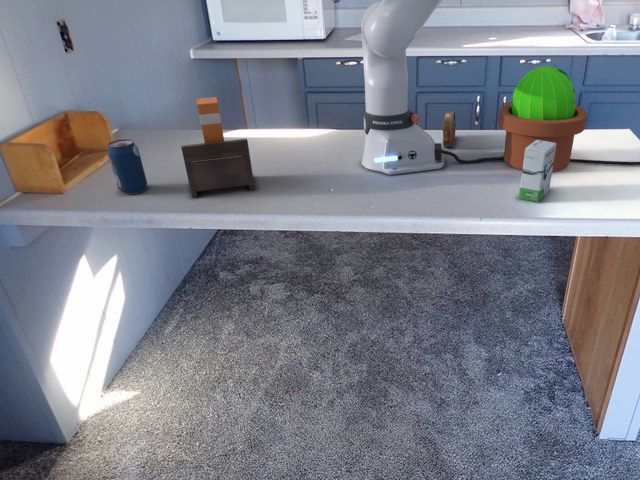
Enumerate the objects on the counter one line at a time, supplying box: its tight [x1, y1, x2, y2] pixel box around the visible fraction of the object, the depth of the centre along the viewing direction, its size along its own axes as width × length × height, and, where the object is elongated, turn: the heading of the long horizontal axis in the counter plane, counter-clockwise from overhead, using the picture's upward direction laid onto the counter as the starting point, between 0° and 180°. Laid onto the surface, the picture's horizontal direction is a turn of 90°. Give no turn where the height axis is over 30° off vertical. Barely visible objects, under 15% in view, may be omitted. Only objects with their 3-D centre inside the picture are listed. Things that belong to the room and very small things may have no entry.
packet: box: [196, 96, 225, 143], centre depth 129 cm, size 4×6×11 cm
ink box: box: [518, 140, 557, 203], centre depth 126 cm, size 9×5×12 cm, turn 148°
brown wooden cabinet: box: [180, 138, 256, 199], centre depth 134 cm, size 15×10×12 cm, turn 107°
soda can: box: [106, 138, 148, 195], centre depth 133 cm, size 7×7×12 cm
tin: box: [442, 110, 456, 148], centre depth 161 cm, size 15×3×8 cm, turn 168°
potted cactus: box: [497, 63, 588, 172], centre depth 141 cm, size 22×22×25 cm
